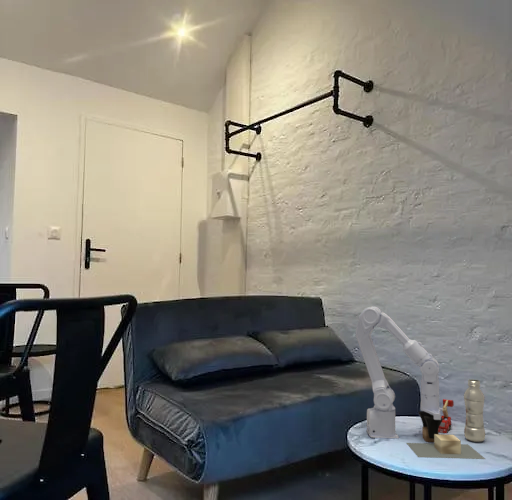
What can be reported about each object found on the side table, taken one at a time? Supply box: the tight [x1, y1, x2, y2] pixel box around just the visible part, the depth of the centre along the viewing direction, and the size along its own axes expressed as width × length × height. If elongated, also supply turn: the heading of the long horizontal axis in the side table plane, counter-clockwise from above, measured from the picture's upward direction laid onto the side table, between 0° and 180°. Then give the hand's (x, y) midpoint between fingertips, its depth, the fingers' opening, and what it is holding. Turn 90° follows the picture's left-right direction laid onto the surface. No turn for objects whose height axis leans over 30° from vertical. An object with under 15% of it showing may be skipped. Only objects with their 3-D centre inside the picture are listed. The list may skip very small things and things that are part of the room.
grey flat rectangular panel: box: [406, 442, 486, 460], centre depth 151 cm, size 20×13×1 cm, turn 88°
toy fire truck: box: [438, 398, 454, 434], centre depth 175 cm, size 3×14×10 cm, turn 148°
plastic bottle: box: [463, 378, 486, 443], centre depth 162 cm, size 6×7×20 cm
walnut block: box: [421, 426, 439, 443], centre depth 161 cm, size 4×4×4 cm
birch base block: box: [433, 433, 462, 454], centre depth 151 cm, size 6×6×4 cm
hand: (430, 436), depth 161 cm, fingers closed on walnut block, 4 cm apart
